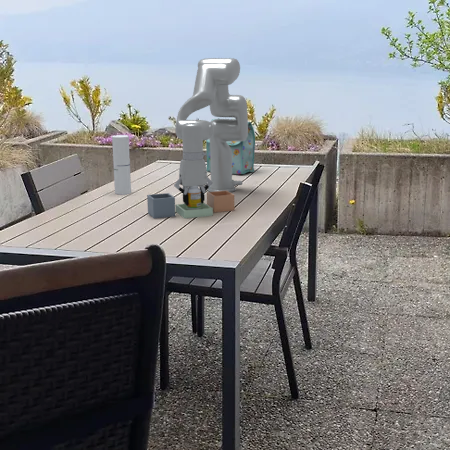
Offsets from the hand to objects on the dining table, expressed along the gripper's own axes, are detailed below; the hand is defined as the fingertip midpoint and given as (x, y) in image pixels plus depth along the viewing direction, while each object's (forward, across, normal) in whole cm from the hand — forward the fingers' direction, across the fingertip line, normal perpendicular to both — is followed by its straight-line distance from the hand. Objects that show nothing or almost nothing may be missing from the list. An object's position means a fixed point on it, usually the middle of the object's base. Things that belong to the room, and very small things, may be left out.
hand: (193, 203), depth 257 cm
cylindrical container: (+5, +16, -51) cm, 54 cm away
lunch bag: (+5, -46, -79) cm, 91 cm away
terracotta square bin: (+5, -12, -3) cm, 13 cm away
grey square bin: (+5, +12, -3) cm, 13 cm away
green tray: (+5, 0, 0) cm, 5 cm away
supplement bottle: (+2, 0, 0) cm, 2 cm away
